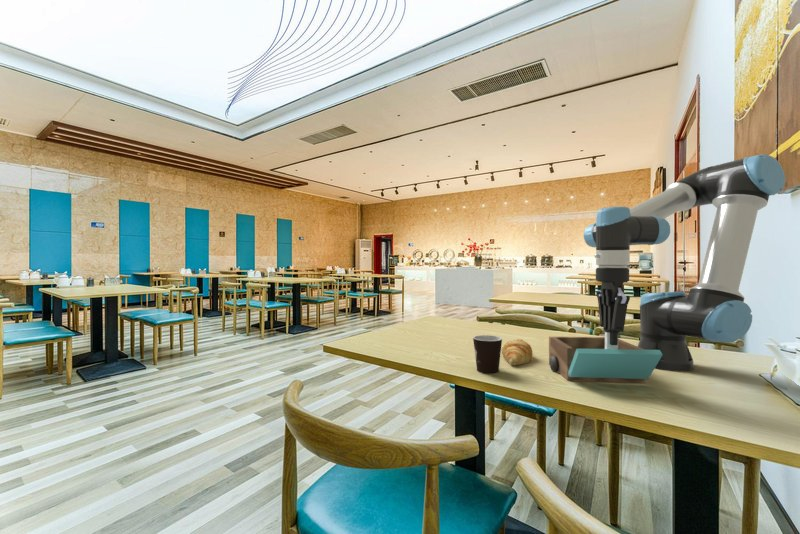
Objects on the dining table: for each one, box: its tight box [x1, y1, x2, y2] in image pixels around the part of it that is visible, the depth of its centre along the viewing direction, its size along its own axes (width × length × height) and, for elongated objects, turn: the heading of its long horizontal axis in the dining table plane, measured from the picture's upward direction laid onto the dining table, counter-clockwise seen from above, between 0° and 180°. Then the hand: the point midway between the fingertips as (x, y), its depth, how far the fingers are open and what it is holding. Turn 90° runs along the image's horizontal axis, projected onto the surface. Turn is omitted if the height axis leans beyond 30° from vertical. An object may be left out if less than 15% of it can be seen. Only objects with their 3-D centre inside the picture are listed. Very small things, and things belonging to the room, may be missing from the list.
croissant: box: [501, 339, 533, 366], centre depth 119 cm, size 21×10×8 cm, turn 155°
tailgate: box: [568, 349, 663, 380], centre depth 91 cm, size 20×2×11 cm
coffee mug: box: [472, 334, 503, 375], centre depth 107 cm, size 12×9×10 cm
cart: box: [548, 336, 646, 384], centre depth 103 cm, size 23×16×9 cm
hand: (611, 356), depth 92 cm, fingers closed
